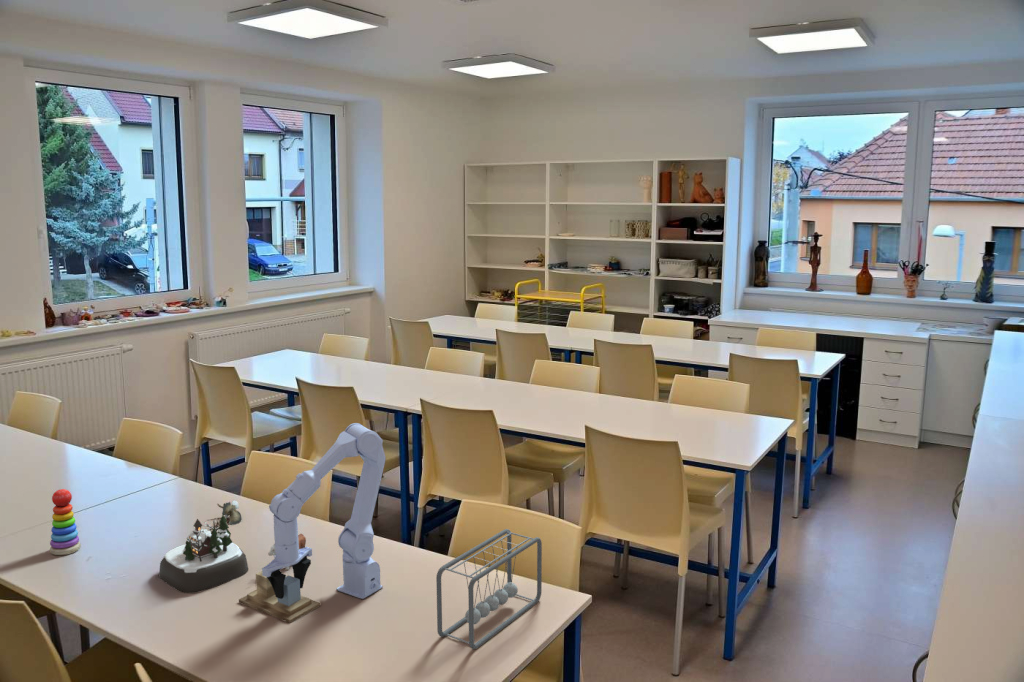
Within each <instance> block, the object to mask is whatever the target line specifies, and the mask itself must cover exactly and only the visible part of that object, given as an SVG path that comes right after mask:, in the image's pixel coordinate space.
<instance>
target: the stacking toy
mask: <svg viewBox="0 0 1024 682" xmlns="http://www.w3.org/2000/svg"><path fill="white" fill-rule="evenodd" d="M72 499H73V495H72V492H71V491H70V490H68V489H66V488H62V489H58V490H56V491H55V492H53V494H52V496H51V500H52V503H53V505H55V506H53V508H52V512H53V514H52V516H51V517H52V521H51V524H52V527H51V536H50V541H49V544H50V548H49V552H50V554H52V555H55V556H65V555H70V554H73V553H75V552H78V551H79V550H80V548H81V545H82V544H81V542H80V536H78V535H79V531H78V529H77V524H76V517H74V515H75V513H74V512H73V505H72V504H71V501H72Z"/></svg>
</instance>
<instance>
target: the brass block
mask: <svg viewBox="0 0 1024 682" xmlns="http://www.w3.org/2000/svg"><path fill="white" fill-rule="evenodd" d="M255 580H256V582H255V587H256V590H257V594H258V595H261V596H264V597H266V598H269V597H271V596H272V595H274V594H275V593H274V590H273V587H272V585H271V583H270V581H269V580H268V578H267V577H265V576H263V575H262V570H261V571H259V572H257V573H255Z"/></svg>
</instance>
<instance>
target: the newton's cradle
mask: <svg viewBox="0 0 1024 682" xmlns="http://www.w3.org/2000/svg"><path fill="white" fill-rule="evenodd" d="M512 535H514V536H517V537H521V538H525V539H524V540H523V541H522V542H520V543H518V544H516V543H512ZM505 539H507V541H505ZM494 541H495V542H494ZM499 542H500V543H501V547H499V546H496V544H498V543H499ZM503 542H505V543H506V546H507V547H506V548H504V545H503ZM534 544H536V545H537V546H536V548H537V549H536V550H537V554H536V555H537V557H536V563H537V564H536V570H537V571H536V575H537V576H536V578H537V579H536V584H537V585H536V596H535V598H529V597H526V596H524V595H521V594H518V586H517V585H516V584H515V583H514V582H513V576H514V573H515V572H514V571H515V567H513V569H512V562H513V561H512V559H513V558H514V560H517V559H516V558H517V556H518V555H519V554H521V553H522V552H524V551H525V550H527V549H528V548H531V546H533V545H534ZM512 545H515V546H514V547H512ZM519 546H520V547H519ZM491 547H492V552H493V553H491V552H487V551H486V550H488V549H490V548H491ZM494 547H496V548H500V549H502V552H503V554H501V555H497V554H495V551H494V550H495V549H494ZM542 547H543V543H542V539H541V538H540V537H537V536H536V537H534V538H532V537H530V536H525V535H521V534H518V533H514V532H512V531H511V530H510V529H509V528H505V529H503V530H501V531H499V532H498V533H496V534H494V535H493V536H491V537H490V538H487V539H486V540H484V541H483V542H481V543H479V544H478V545H476V546H474V547H472V548H470V549H469V550H467V551H466V552H463V553H462V554H460V555H459V556H457V557H455V558H453V559H452V560H450V561H448V562H447V563H445V564H444V565H442V566H441V567H440V568H439V569H438V570H437V573H436V611H437V612H436V619H437V620H436V623H437V629H436V630H437V631H436V632H437V634H438V636H439V637H441V638H445V637H450V638H453V639H455V640H457V641H461V642H463V643H465V644H468V645H469V647H470V648H471V650H477V649H478V648H479V647H481V646H482V645H484V644H485V643H486V642H488V641H489V640H490V639H492V638H493V637H494V636H496V635H497V634H498V633H499V632H500V631H503V630H504V629H505V628H506V627H507V626H508V625H510V624H512V622H514V621H515V620H517V618H519V617H521V616H522V615H524V613H526V612H527V611H529V610H530V609H532V607H534V606H536V605H537V603H539V602H540V599H541V596H542V591H543V590H542V584H543V583H542V582H543V581H542V579H543V578H542V573H543V572H542V568H543V567H542V565H543V564H542V559H543V557H542V555H543V552H542V551H543V548H542ZM481 549H482V550H481ZM479 550H480V551H479ZM504 550H505V551H506V552H504ZM513 550H514V551H513ZM481 553H483V558H479V557H476V556H479V554H481ZM485 553H487V554H490V555H493V558H494V559H493V560H492V561H489V560H486V558H485ZM472 554H473V555H472ZM470 555H471V556H470ZM495 556H497V557H496V558H495ZM467 557H468V558H467ZM475 558H476V559H478V560H482V561H484V565H483V566H482V567H479V566H476V564H474V565H473V564H470V563H467V562H468V561H470V560H471V559H473V562H474V563H476V559H475ZM497 560H498V561H497ZM496 561H497V562H496ZM459 562H460V563H459ZM486 562H488V563H487V564H486ZM462 564H463V566H464V571H465V573H462V572H459V571H456V570H454V569H456V568H458V567H459V566H461V565H462ZM491 564H492V565H491ZM504 564H505V568H504V574H503V580H502V586H501V588H500V583H499V580H497V579H499V575H498V572H499V570H498V569H499V567H501V566H502V565H504ZM466 565H470V566H472V567H475V571H474V572H472V573H470V574H469V575H468V574H467V570H466ZM515 565H516V561H514V562H513V566H515ZM488 566H489V567H488ZM477 568H478V569H477ZM483 569H484V570H483ZM494 570H495V571H496V574H495V578H494V579H495V580H494V586H493V590H492V591H493V592H491V588H490V582H489V574H490V573H491V572H493V571H494ZM445 571H449V572H451V573H455V574H457V575H461V576H463V577H466V583H467V589H468V609H467V610H466V611H465V615H464V617H463V618H461V619H459V620H458V621H456V622H455V623H454V624H453V625H451V626H450V627H448V628H446V629H445V630H443V606H442V605H443V602H442V601H443V599H442V598H443V597H442V592H443V591H442V576H443V573H444V572H445ZM478 572H479V573H478ZM475 574H476V575H475ZM474 575H475V576H474ZM506 575H507V576H506ZM485 576H486V578H487V579H486V582H487V583H486V586H485V588H487V587H488V590H489V595H488V596H486V594H487V589H485V590H484V591H485V592H484V596H483V601H482V595H481V590H480V584H479V583H480V579H482V578H483V577H485ZM505 576H506V577H507V578H506V579H507V583H505V584H504V582H505ZM468 578H469V579H470V582H469V581H468ZM476 582H477V587H476V593H475V598H474V586H475V583H476ZM496 582H497V584H498V589H497V590H495V588H496ZM478 591H479V598H480V601H479V602H477V603H476V601H477V596H478ZM491 593H492V594H491ZM514 597H520V598H523V599H525V600H529V601H530V602H528V603H527V604H526V605H525V606H523V607H521V609H519V610H518V611H516V612H515V613H514V614H513V615H511V616H509V618H507V619H506V620H505V621H503V622H502V623H501V624H499V625H498V626H497V627H496V628H494V629H492V630H491V631H490V632H488V633H487V634H486V635H485V636H483V637H482V638H481V639H479V640H477V641H476V642H475V626H474V625H476V624H478V623H479V622H480V621H481V618H482V619H483V618H487V617H488V616H489V615H490V612H495V611H497V609H499V606H500V605H501V606H503V605H504V604H507V602H508V599H511V598H512V599H513V598H514ZM474 599H475V600H474ZM466 622H467V623H468V641H467V640H464V639H462V638H460V637H456V636H454V635H453V634H452V635H451V634H450V633H452V632H454V631H455V630H457V629H458V628H459V627H461V626H462V625H463V624H465V623H466Z"/></svg>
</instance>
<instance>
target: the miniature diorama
mask: <svg viewBox="0 0 1024 682" xmlns="http://www.w3.org/2000/svg"><path fill="white" fill-rule="evenodd" d="M224 516H225V515H224ZM224 516H223V515H221V518H220V519H212V522H213V526H211V525H210V524H208V523H207V522H204V523H205V524H202V523H201V521H200V520H199V519H198V518H197V519H196V520H195V522H194V524H193V527H194V528H193V529H192V530H191V532H189V534H188V536H187V537H186V541H185V544H182V545H179V546H177V547H175V548H172V549H170V550H168V551H167V552H166V553H165V555H164V556H163V557H162V559H161V560H160V562H159V575H158V577H159V579H160V580H161V581H162V582H164V583H166V584H167V585H168V586H170V587H172V589H174V590H176V591H178V592H180V593H184V594H195V593H200V592H203V591H206V590H209V589H212V588H215V587H217V586H220V585H222V584H225V583H228V582H230V581H233V580H236V579H238V578H241V577H242V576H244V575H246V574H247V573H248V572H249V564H248V561H247V557H246V554H245V552H244V551H243V550H242V549H241V548H240V547H239V546H238V545H237V544H236V543H233V540H232V539H231V535H232V533H231V532H230V530H229V528H230V527H229V524H228V523H227V522H228V520H227V518H226V519H225V517H224ZM218 520H219V523H218ZM215 523H216V524H215ZM218 524H219V525H218ZM202 527H208V529H209V530H208V529H207V528H204V529H203V528H202Z"/></svg>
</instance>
